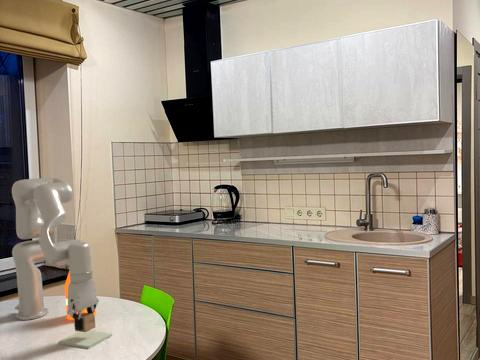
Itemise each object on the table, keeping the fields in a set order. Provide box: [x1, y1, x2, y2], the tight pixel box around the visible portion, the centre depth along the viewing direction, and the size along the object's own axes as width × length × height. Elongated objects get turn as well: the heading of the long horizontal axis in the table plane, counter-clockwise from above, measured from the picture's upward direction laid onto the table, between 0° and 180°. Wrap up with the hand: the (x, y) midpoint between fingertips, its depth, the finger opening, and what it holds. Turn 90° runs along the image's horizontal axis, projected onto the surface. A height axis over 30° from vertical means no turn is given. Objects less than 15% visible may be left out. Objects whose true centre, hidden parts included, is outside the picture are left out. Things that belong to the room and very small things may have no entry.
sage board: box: [58, 330, 113, 349], centre depth 176 cm, size 14×12×1 cm
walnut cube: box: [73, 313, 96, 332], centre depth 175 cm, size 5×5×5 cm
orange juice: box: [64, 271, 97, 321], centre depth 201 cm, size 8×9×20 cm
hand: (85, 326), depth 175 cm, fingers closed on walnut cube, 5 cm apart
